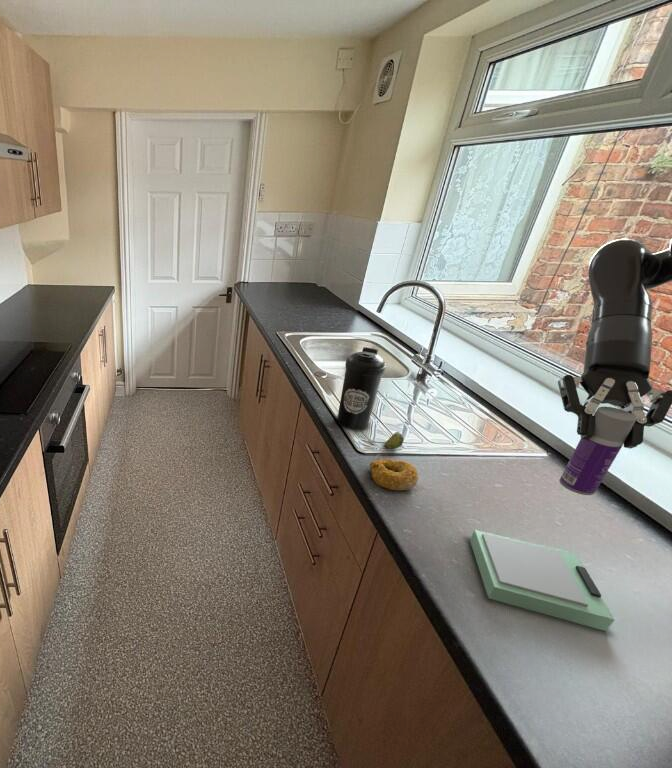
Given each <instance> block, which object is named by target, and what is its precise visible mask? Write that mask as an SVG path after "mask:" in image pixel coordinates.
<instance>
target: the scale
mask: <svg viewBox="0 0 672 768" xmlns="http://www.w3.org/2000/svg"><path fill="white" fill-rule="evenodd" d="M469 542H470V546H471V548H472V549H471V550H472V552H473V554H474V558H475V561H476V564H477V567H478V570H479V573H480V576H481V579H482V583H483V586H484V588H485V592H486V594H487V598H488V599H491V600H493V601H497V602H500V603H505V604H508V605H511V606H515V607H517V608H518V607H519V608H522V609H526V610H529V611H532V612H536V613H540V614H542V615H547V616H550V617H554V618H557V619H561V620H564V621H568V622H572V623H575V624H579V625H582V626H586V627H589V628H593V629H597V630H600V631H603V632H607V631H608V629H609V627H611V625H612V624H613V623H614V622H615V618H614V616H613V614H612V612H611V610H610V609H609V607H608V606H607V604H606V603H605V601H604V598H602V594H601V592H600V590H599V589H598V587H597V585H596V584H595V582H594V580H593V579H592V577H591V575H590V574H589V572H588V570H587V569H586V567H585V566H584V565H583V564H582V562H581V560H580V558H579V556H578V555H577V553H575V552H571V551H566V550H564V549H563V550H562V549H559V548H554V547H549V546H547V545H542V544H537V543H533V542H528V541H524V540H521V539H515V538H512V537H507V536H503V535H499V534H495V533H491V532H486V531H482V530H478V529H474V530H473V532H472V534H471V536H470V539H469Z"/></svg>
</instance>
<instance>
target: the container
mask: <svg viewBox="0 0 672 768" xmlns="http://www.w3.org/2000/svg"><path fill="white" fill-rule="evenodd" d="M593 414H594V415H593V416H595V421H594V431H593V436H592V438H590V439H587V440H586V439H581V438H580V439H579V441H578V444H577V445H576V447H575V449H574V451H573V452H572V455H571V457H570V459H569V460H568V463H567V464H566V466H565V468H564V470H563V471H562V474H561V476H560V478H559V479H558V480H559V482H558V483H559V484H560V485H561V486H562V487H563V488H565V489H566V490H568V491H570V492H573V493H575V494H578V495H583V496H593V495H594V494H595V493H596V492H597V489H598V488H599V486H600V485H601V483H602V481H603V480H604V478H605V476H606V475H607V473H608V471H609V470H610V468H611V466H612V465H613V463H614V461H615V460H616V458H617V456H618V454H619V453H620V451H621V449H622V447H624V442H625V440H626V438H627V436H628V434H629V432H630V431H631V429H632V427H633V425H634V423H635V421H636V419H637V418H636V416H634V415H633V414H631V413H629V412H627V411H624V410H621V409H619V408H616V407H612V406H598V407H597V409H596V410H595V412H594V413H593Z"/></svg>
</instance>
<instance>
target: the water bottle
mask: <svg viewBox="0 0 672 768" xmlns="http://www.w3.org/2000/svg"><path fill="white" fill-rule="evenodd" d="M378 352H379V349H376V348H372V347H366V346H363V349H362V350H361V351H357V352H354V353H352V354H350V355H349V356H348V357H347V358H346V360H345V364H344V366H345V372H344V378H343V385H342V389H341V395H340V401H339V406H338V413H337V418H336V420H337V423H338V424H339V425H341V426H342V427H344V428H346V429H349V430H353V431H354V430H355V431H362V430H365V429H366V428H368V425H369V422H370V418H371V415H372V412H373V409H374V405H375V402H376V398H377V394H378V392H379V388H380V385H381V381H382V377H383V375H384V374H385V371H386V368H387V363H385V360H384V359H383V357H381V356H380V355H378Z"/></svg>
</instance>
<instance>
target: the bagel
mask: <svg viewBox="0 0 672 768" xmlns="http://www.w3.org/2000/svg"><path fill="white" fill-rule="evenodd" d="M369 469H370V470H371V475H372V476H371V477H372V478H373V482H375V483H376V485H378V486H380V487H382V488H385V489H387V490H391V491H406V490H410V489H413V488H414V487H415V486H417V483H418V481H419V475H418V471H417V469H416V467H415V466H414V465H412V464H411V463H410V462H408V461H405V460H395V459H391V458H380V459H377V460H372V461H371V462H370V463H369Z"/></svg>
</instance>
